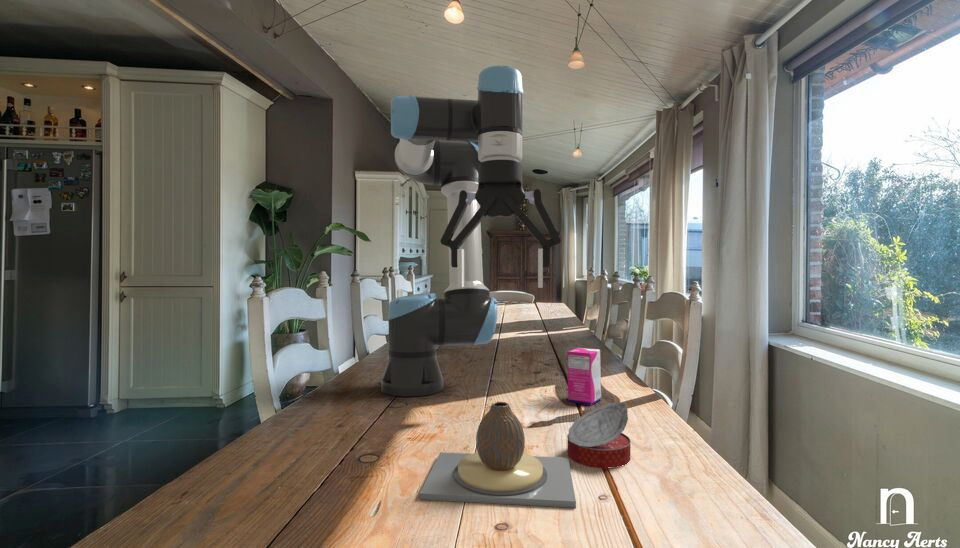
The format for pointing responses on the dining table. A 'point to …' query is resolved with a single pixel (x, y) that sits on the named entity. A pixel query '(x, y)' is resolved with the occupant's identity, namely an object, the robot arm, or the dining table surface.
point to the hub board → (501, 481)
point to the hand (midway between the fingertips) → (500, 287)
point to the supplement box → (584, 376)
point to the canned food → (600, 437)
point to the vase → (500, 438)
